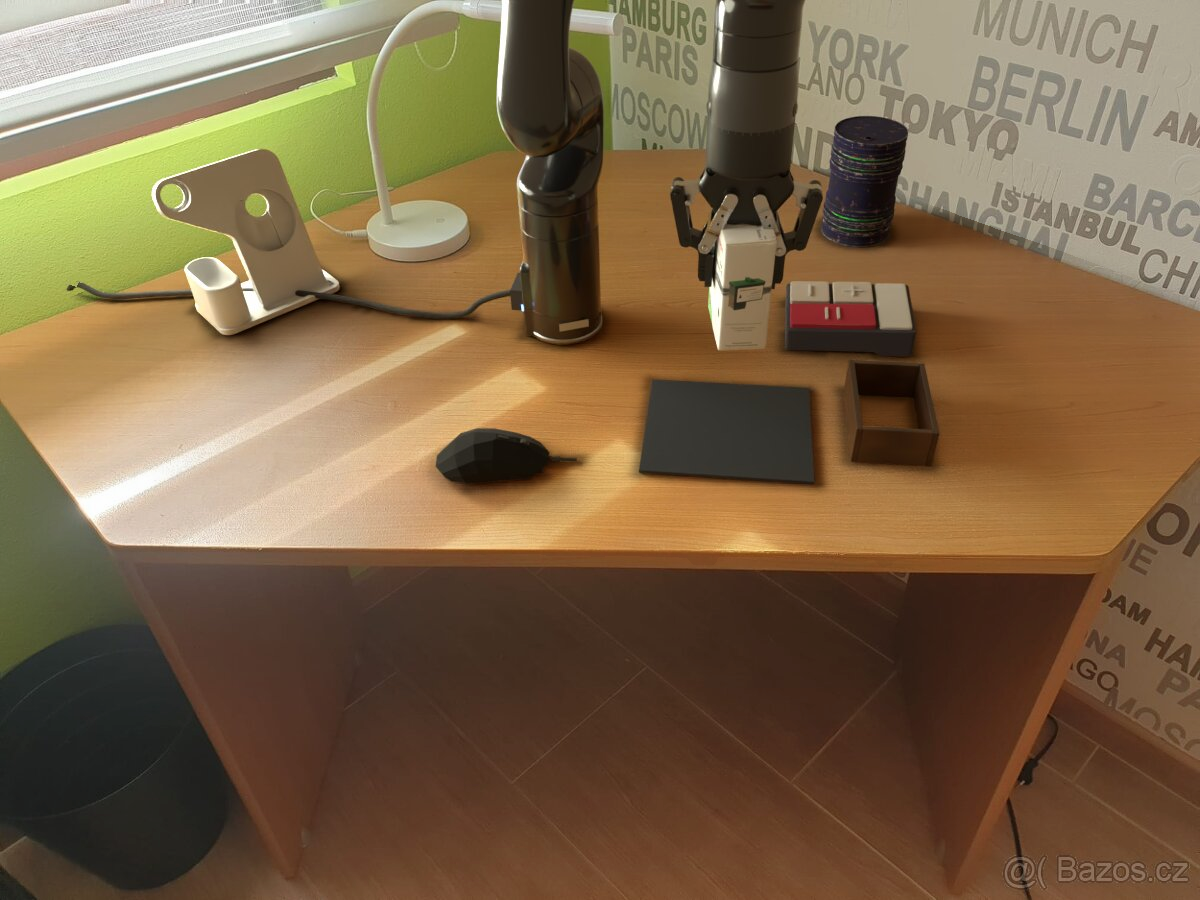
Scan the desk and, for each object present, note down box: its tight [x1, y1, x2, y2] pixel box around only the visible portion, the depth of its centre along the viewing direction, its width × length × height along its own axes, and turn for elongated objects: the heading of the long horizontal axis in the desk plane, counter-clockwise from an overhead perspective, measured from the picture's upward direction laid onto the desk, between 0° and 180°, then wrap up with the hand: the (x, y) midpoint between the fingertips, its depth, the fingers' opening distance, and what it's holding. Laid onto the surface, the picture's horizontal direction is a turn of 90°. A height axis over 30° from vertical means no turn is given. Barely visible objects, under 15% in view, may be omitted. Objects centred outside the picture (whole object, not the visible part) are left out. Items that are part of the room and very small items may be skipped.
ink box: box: [707, 222, 777, 351], centre depth 92 cm, size 9×5×12 cm, turn 2°
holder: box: [842, 359, 941, 467], centre depth 103 cm, size 8×12×4 cm
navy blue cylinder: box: [820, 115, 909, 248], centre depth 133 cm, size 10×10×15 cm
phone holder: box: [151, 148, 341, 336], centre depth 122 cm, size 17×10×18 cm, turn 131°
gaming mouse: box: [435, 427, 578, 485], centre depth 100 cm, size 6×15×4 cm, turn 93°
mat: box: [638, 378, 816, 485], centre depth 104 cm, size 18×16×1 cm
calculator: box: [784, 280, 917, 358], centre depth 117 cm, size 11×4×15 cm
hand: (739, 283), depth 93 cm, fingers closed on ink box, 5 cm apart
